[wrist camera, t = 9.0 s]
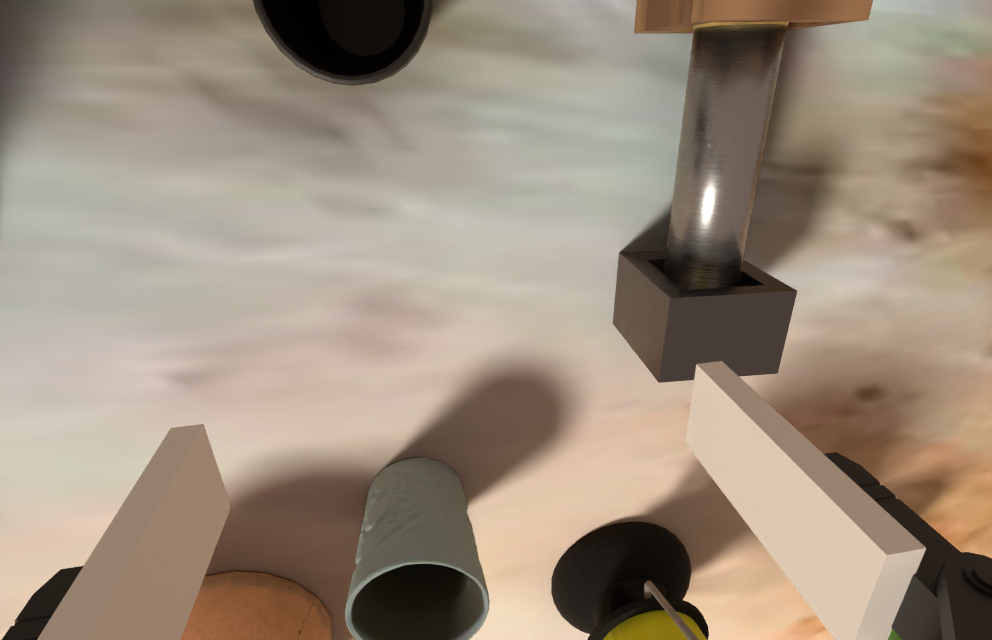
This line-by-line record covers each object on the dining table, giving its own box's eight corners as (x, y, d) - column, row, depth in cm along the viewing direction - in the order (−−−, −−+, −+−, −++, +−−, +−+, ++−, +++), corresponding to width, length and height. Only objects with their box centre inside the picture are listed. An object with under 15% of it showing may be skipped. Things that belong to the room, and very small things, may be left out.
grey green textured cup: (357, 453, 46) (337, 568, 35) (475, 445, 47) (491, 555, 37) (366, 541, 50) (351, 668, 40) (474, 532, 52) (489, 653, 41)
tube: (711, 296, 41) (747, 323, 37) (647, 299, 41) (676, 328, 36) (762, -6, 33) (817, -20, 29) (683, -7, 33) (726, -20, 28)
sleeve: (613, 323, 44) (658, 382, 36) (619, 252, 42) (669, 298, 33) (710, 317, 45) (777, 373, 37) (722, 247, 43) (797, 290, 34)
